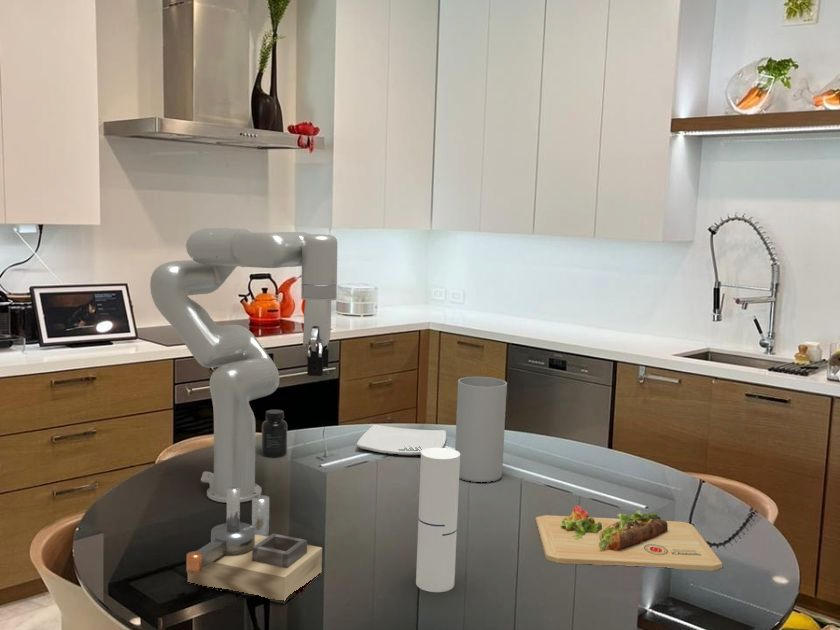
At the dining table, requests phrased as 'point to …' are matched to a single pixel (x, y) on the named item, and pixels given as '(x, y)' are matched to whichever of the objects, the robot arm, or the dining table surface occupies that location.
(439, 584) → the cylindrical container
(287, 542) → the block
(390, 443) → the plate
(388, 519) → the dining table surface
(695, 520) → the dining table surface
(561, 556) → the cutting board
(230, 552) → the grey crank lever
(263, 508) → the key peg
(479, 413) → the cylinder vase
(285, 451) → the supplement bottle
